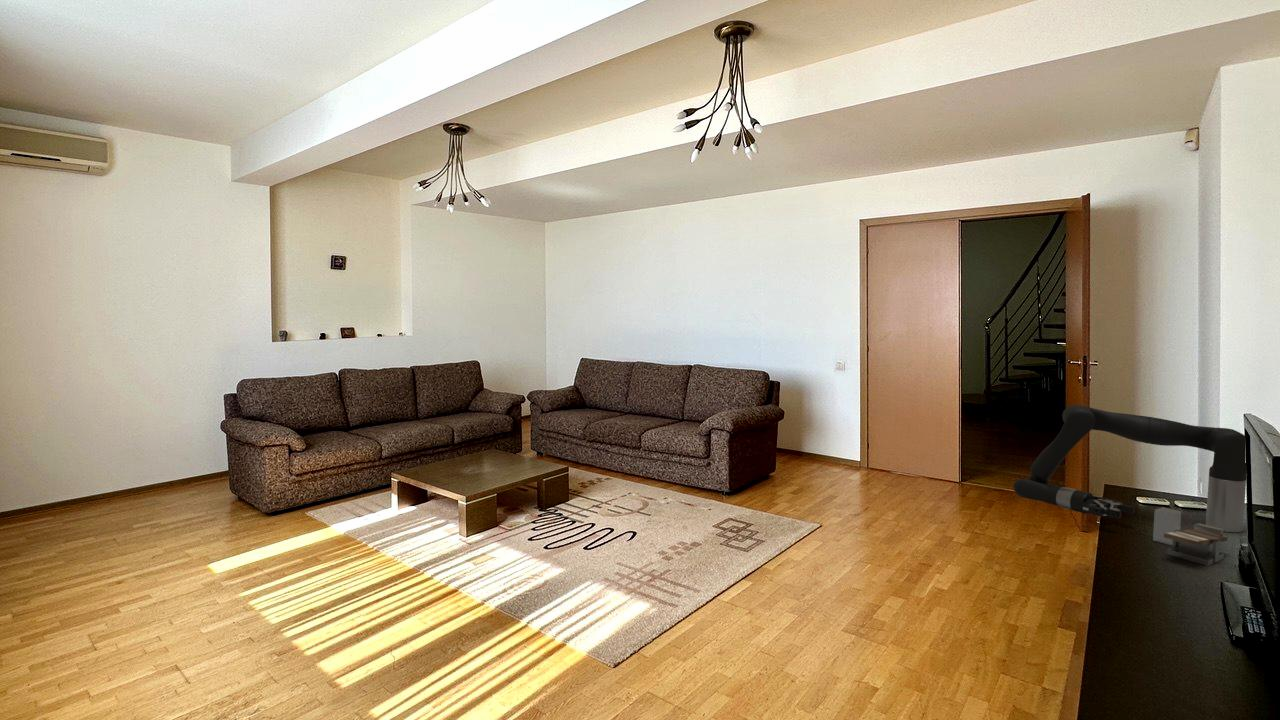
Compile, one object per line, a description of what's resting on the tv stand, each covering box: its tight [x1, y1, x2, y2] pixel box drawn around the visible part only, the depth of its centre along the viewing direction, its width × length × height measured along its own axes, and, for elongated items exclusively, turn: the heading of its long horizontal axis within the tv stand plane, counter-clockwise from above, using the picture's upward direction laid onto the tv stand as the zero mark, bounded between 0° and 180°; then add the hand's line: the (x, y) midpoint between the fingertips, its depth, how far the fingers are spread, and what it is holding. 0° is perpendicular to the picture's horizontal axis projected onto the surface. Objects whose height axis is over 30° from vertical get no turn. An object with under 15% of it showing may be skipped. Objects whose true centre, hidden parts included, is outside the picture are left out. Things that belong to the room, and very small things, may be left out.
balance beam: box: [1164, 522, 1228, 546], centre depth 191 cm, size 20×8×3 cm, turn 119°
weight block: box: [1152, 506, 1182, 546], centre depth 204 cm, size 5×5×10 cm
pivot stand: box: [1166, 529, 1225, 567], centre depth 192 cm, size 10×10×6 cm
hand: (1127, 512), depth 213 cm, fingers open, 8 cm apart
